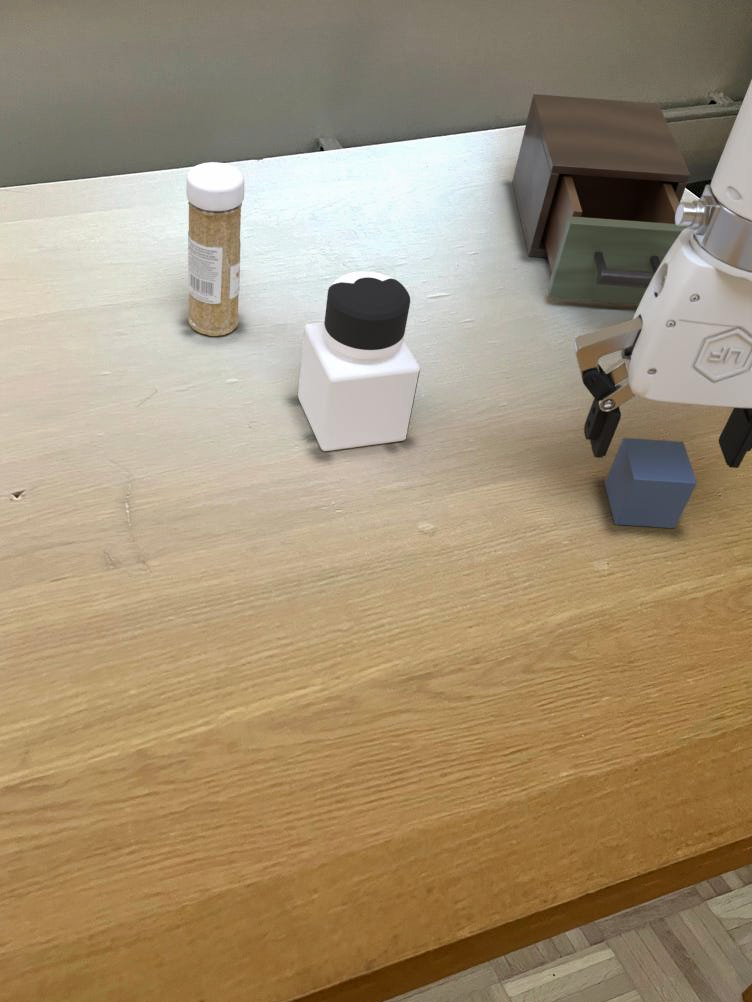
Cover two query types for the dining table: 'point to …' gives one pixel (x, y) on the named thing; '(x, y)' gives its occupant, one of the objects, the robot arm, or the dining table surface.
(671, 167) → the cabinet
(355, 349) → the medicine bottle
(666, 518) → the block
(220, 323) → the spice jar
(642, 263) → the drawer
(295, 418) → the dining table surface
